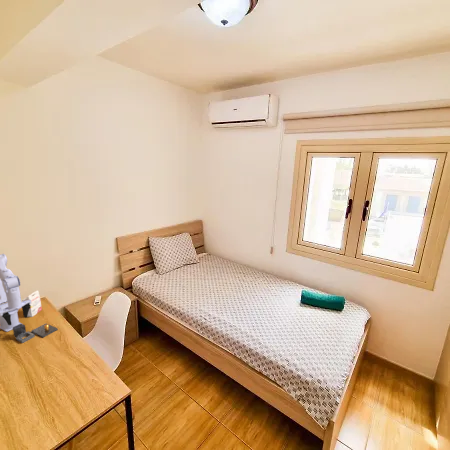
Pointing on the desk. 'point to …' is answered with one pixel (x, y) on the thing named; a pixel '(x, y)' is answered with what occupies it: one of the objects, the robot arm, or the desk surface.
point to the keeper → (44, 330)
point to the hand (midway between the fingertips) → (17, 320)
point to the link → (22, 333)
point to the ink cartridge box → (34, 304)
